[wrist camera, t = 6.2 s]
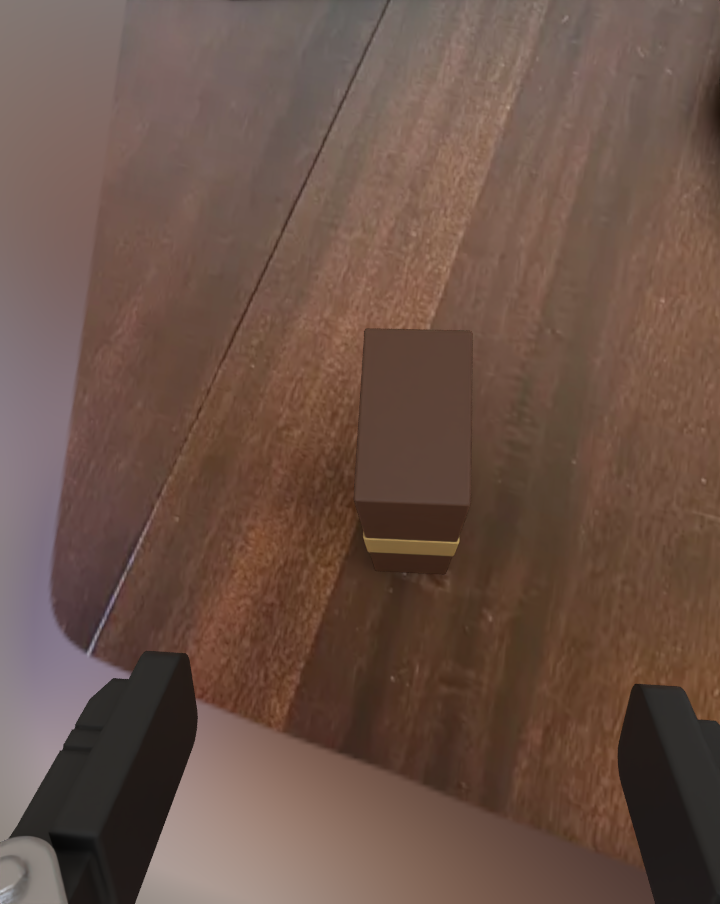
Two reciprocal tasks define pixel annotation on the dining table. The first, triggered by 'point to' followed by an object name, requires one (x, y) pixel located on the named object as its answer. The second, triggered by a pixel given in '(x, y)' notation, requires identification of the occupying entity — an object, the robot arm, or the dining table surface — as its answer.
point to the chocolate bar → (414, 447)
